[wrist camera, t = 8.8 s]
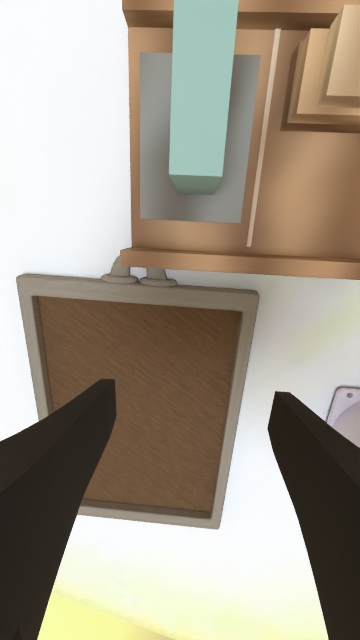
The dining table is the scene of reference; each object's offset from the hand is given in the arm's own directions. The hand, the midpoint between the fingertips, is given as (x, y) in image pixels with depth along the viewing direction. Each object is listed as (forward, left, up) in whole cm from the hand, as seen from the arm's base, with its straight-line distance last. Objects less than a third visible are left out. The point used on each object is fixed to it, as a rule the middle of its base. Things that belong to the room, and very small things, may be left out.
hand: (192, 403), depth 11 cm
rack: (-4, -12, -10) cm, 16 cm away
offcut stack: (-8, -15, -10) cm, 20 cm away
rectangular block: (0, -13, -9) cm, 16 cm away
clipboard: (+5, +9, -11) cm, 15 cm away
